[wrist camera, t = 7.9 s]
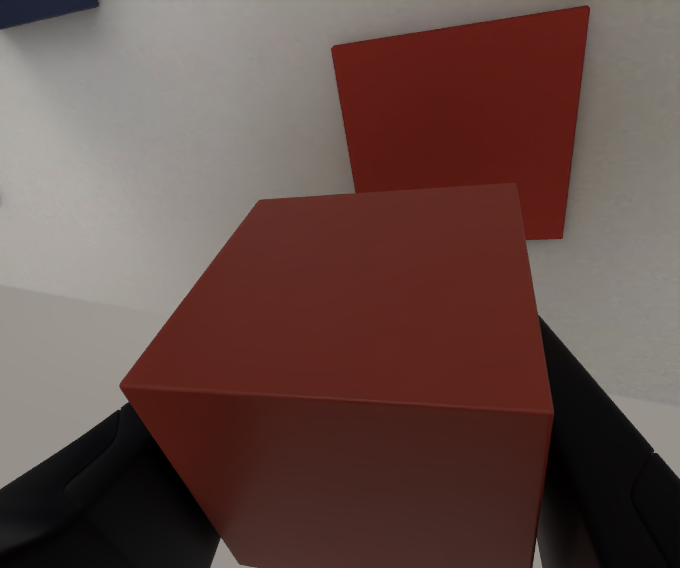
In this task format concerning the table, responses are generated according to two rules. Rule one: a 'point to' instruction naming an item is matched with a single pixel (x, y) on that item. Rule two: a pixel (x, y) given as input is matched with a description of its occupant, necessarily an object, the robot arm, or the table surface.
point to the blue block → (38, 10)
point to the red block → (361, 383)
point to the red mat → (469, 109)
